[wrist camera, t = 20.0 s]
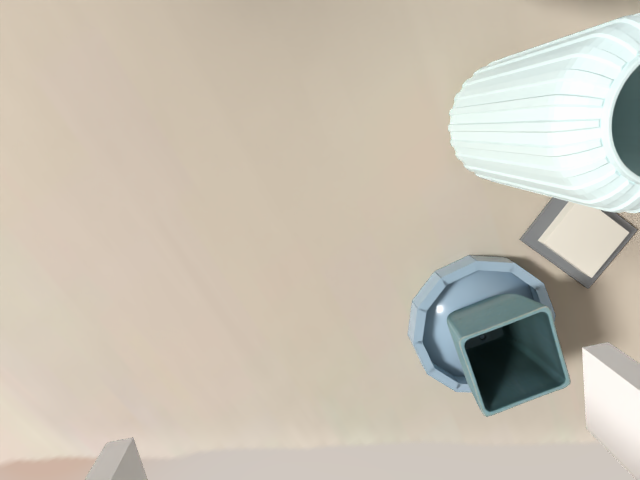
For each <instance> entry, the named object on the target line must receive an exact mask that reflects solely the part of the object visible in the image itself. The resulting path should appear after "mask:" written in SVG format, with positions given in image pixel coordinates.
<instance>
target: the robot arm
mask: <svg viewBox="0 0 640 480" xmlns="http://www.w3.org/2000/svg"><path fill="white" fill-rule="evenodd" d="M582 353H583V373H584V393H585V413H586V429H587V430H588V431H589V432H590V433H591V434H592V435H593V436H594V437H595V438H596V439H597V440H598V441H599V442H600V443H601V444H602V445H603V446H604V447H605V448H606V450H607V451H608V452H609V453H610V454H611V455H612V456H613V457H614V458H615V459H616V460H617V461H618V462H619V463H620V464H621V465H622V466H623V467H624V468H625V469H626V470H627V471H628V472H629V473H630V474H631V475H632V476H633V477H634V478H635V479H636V480H640V363H638V362H637V361H635V360H634V359H632V358H631V357H629V356H628V355H626V354H625V353H624V352H622V351H621V350H619V349H618V348H616V347H615V346H613V345H612V344H610V343H609V342H606V343H602V344H597V345H592V346H587V347H582ZM85 480H148V479H147V476H146V474H145V470H144V468H143V465H142V462H141V459H140V456H139V453H138V450H137V447H136V444H135V441H134V438H133V437H132V438H127V439H122V440H117V441H112V442H107V443H106V445H105V446H104V448H103V450H102V451H101V453H100V455H99V456H98V458H97V460H96V461H95V463H94V465H93V467H92V468H91V470H90V471H89V473H88V475H87V476H86V478H85Z"/></svg>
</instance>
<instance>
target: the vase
mask: <svg viewBox="0 0 640 480" xmlns="http://www.w3.org/2000/svg"><path fill="white" fill-rule="evenodd" d="M454 101H455V102H454V105H453V108H452V109H450V113H449V115H450V116H451V118H450V124H449V125H448V131H450V134H451V140H450V143H451V146H453V147H454V149H455V151H456V153H455V155H456V157H457V158H458V159H459V160H461V161H462V162H463V163H464V167H465V168H466V169H468V170H469V171H472V172H475V174H476V176H478V177H480V178H483V179H486V180H490V181H492V182H496V183H500V184H504V185H508V186H511V187H515V188H519V189H523V190H527V191H531V192H534V193H538V194H542V195H546V196H550V197H554V198H557V199H561V200H565V201H569V202H573V203H577V204H580V205H584V206H588V207H592V208H596V209H600V210H603V211H608V212H616V213H621V212H628V213H640V13H637V14H635V15H629V16H624V17H621V18H618V19H615V20H612V21H609V22H606V23H603V24H600V25H598V26H595V27H592V28H589V29H586V30H583V31H580V32H577V33H574V34H571V35H569V36H566V37H563V38H560V39H557V40H554V41H551V42H548V43H545V44H542V45H539V46H537V47H534V48H531V49H528V50H525V51H522V52H519V53H516V54H513V55H510V56H508V57H505V58H502V59H499V60H496V61H493V62H491V63H489V64H488V66H485V67H482V68H480V69H479V70H477V71H476V72H475V73H474V75H473V77H471V78H470V79H467V80H466V81H465V82H464V83H463V85H462V89H461V91H460V92H459V93H457V94H456V96H455V98H454Z"/></svg>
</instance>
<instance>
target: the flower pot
mask: <svg viewBox="0 0 640 480" xmlns="http://www.w3.org/2000/svg"><path fill="white" fill-rule="evenodd" d="M447 325H448V328H449V331H450V334H451V337H452V339H453V342H454V345H455V348H456V351H457V354H458V357H459V360H460V363H461V366H462V369H463V372H464V375H465V378H466V381H467V383H468V385H469V387H470V389H471V391H472V393H473V395H474V397H475V400H476V402H477V404H478V406H479V408H480V409H481V411H482V413H483V415H484V416H486V417H488V416H492V415H495V414H497V413H500V412H502V411H505V410H507V409H510V408H512V407H515V406H517V405H520V404H522V403H525V402H528V401H530V400H533V399H535V398H538V397H541V396H543V395H546V394H549V393H552V392H554V391H557V390H561V389H563V388H565V387H567V386H568V385H569V384H570V382H571V381H570V377H569V373H568V370H567V367H566V363H565V360H564V356H563V353H562V350H561V346H560V343H559V339H558V335H557V331H556V328H555V324H554V320H553V315H552V312H551V310H550V308H549V307H548V306H546V305H543V304H541V303H539V302H536V301H534V300H532V299H529V298H527V297H524V296H522V295H518V294H512V293H507V294H500V295H496V296H492V297H489V298H487V299H484V300H482V301H479V302H476V303H474V304H471V305H469V306H466V307H463V308H461V309H458V310H455V311H453V312H452V313H450V314H449V315H448V317H447ZM481 335H484V338H483V339H480V336H481Z"/></svg>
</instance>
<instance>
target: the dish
mask: <svg viewBox="0 0 640 480" xmlns="http://www.w3.org/2000/svg"><path fill="white" fill-rule="evenodd" d="M507 293H512V294H518V295H522V296H524V297H527V298H529V299H532V300H534V301H536V302H539V303H541V304H543V305H546V306H548V307H549V308H550V310H551V312H552V315H553V320H554V321H555V312H554V309H553V307H552V304H551V301H550V299H549V296H548V293H547V291H546V288H545V285H544V283H543V282H541V281H540V280H538V279H537V278H535V277H534V276H533V275H531V274H530V273H528V272H527V271H526V270H524V269H523V268H521V267H520V266H518V265H517V264H516V263H514V262H512V261H511V260H509V259H507V258H505V257H493V256H475V255H468V256H466V257H464V258H462V259H460V260H458V261H455V262H453V263H451V264H449V265H447V266H445V267H443V268H441V269H438V270H436V271H435V272H434V273H433V274H432V275H431V277H430V278H429V279H428V281H427V282H426V283H425V285H424V286H423V287H422V289H421V290H420V291H419V293H418V294H417V295H416V297H415V298H414V299H413V300H412V307H411V314H410V322H409V330H408V336H409V338H410V340H411V343H412V345H413V347H414V349H415V351H416V353H417V355H418V357H419V360H420V362H421V364H422V366H423V367H424V369H425V371H426V373H427V374H428V375H429V376H431V377H433V378H434V379H436V380H438V381H439V382H441V383H442V384H444V385H446V386H447V387H449V388H450V389H452V390H454V391H455V392H472V391H471V389H470V387H469V385H468V383H467V381H466V378H465V375H464V372H463V369H462V366H461V363H460V360H459V357H458V354H457V351H456V348H455V345H454V342H453V339H452V337H451V334H450V331H449V328H448V325H447V317H448V315H449V314H450V313H452V312H453V311H455V310H458V309H461V308H463V307H466V306H469V305H471V304H474V303H476V302H479V301H482V300H484V299H487V298H489V297H492V296H496V295H500V294H507ZM483 338H484V335H481V336H480V339H483Z"/></svg>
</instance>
